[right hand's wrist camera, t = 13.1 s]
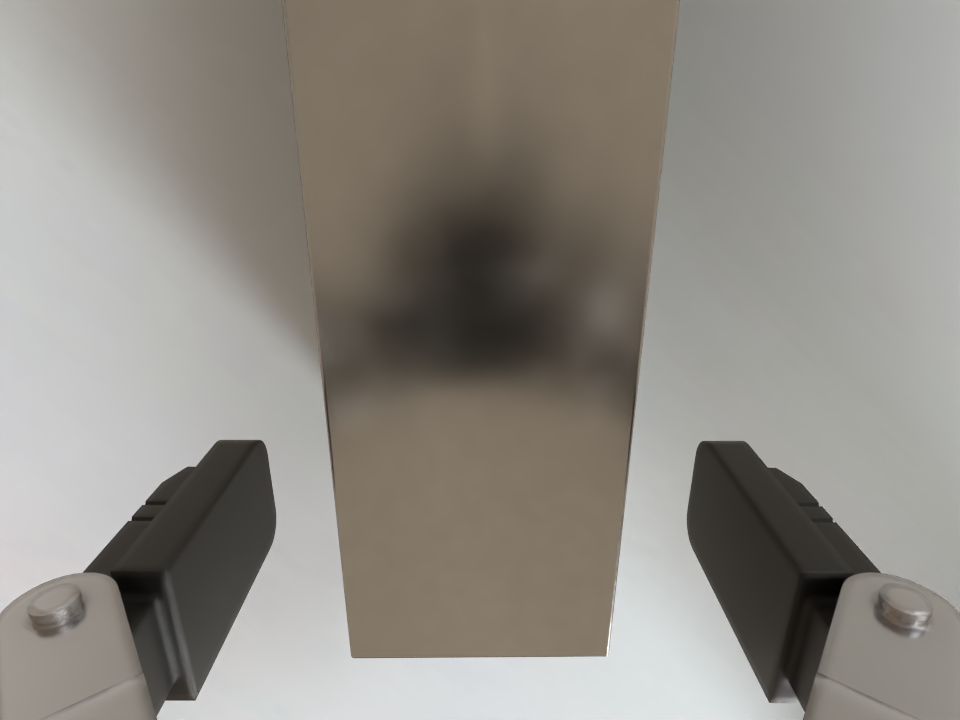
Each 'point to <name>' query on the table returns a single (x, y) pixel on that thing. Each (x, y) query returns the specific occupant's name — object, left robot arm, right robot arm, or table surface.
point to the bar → (480, 304)
